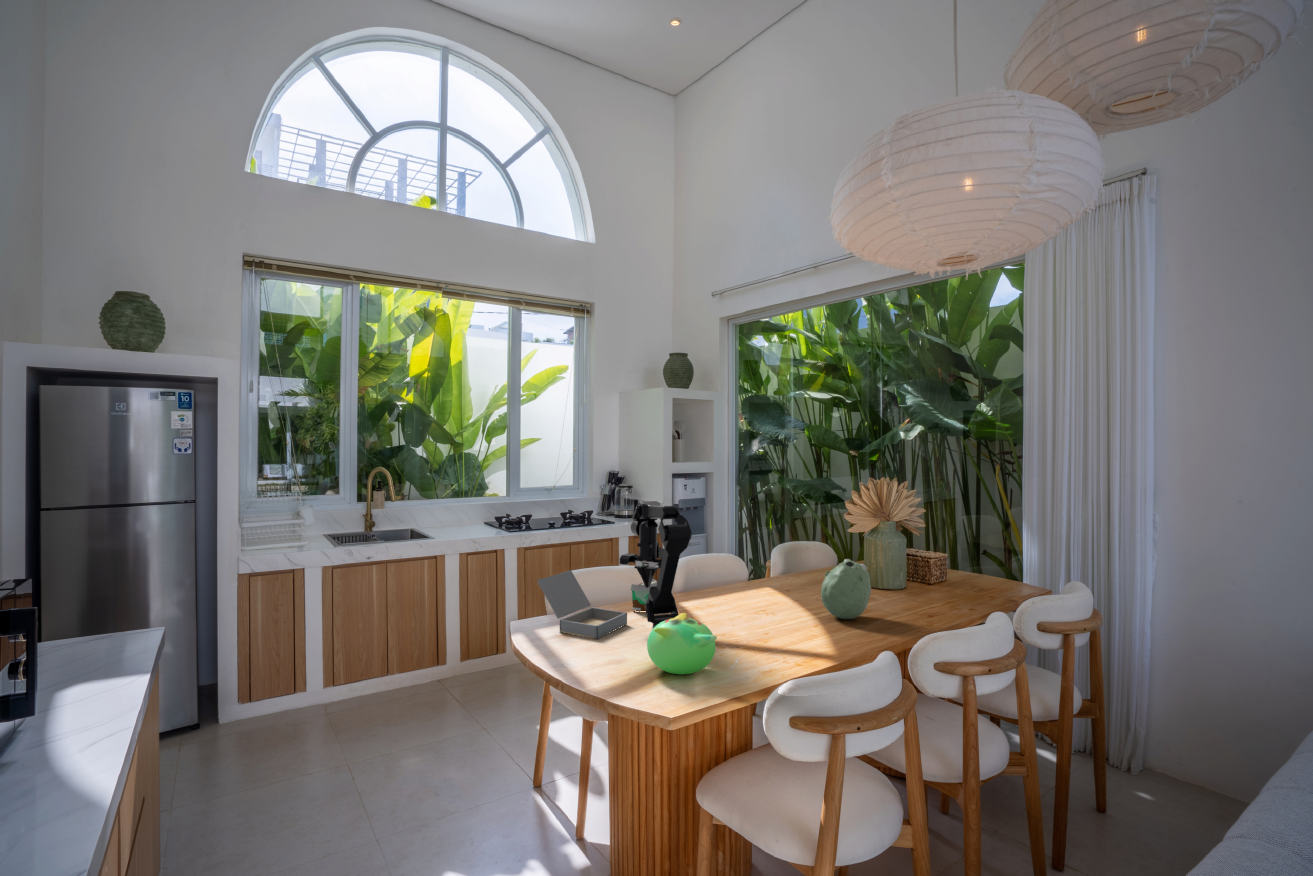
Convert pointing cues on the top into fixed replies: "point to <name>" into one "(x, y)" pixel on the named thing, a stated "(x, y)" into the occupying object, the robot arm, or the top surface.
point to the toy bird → (681, 645)
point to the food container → (641, 595)
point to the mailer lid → (564, 593)
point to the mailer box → (593, 622)
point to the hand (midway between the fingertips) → (647, 587)
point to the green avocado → (846, 589)
